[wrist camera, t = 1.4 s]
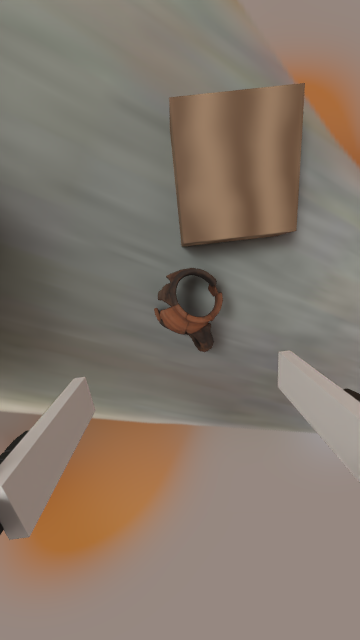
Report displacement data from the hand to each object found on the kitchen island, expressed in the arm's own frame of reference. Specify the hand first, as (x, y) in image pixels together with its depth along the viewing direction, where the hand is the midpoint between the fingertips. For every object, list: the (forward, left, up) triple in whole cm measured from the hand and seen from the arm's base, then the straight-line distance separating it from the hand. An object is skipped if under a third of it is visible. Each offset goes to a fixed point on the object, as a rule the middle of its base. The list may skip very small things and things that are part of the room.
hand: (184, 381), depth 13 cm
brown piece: (+1, -1, -20) cm, 20 cm away
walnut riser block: (+9, +17, -19) cm, 27 cm away
